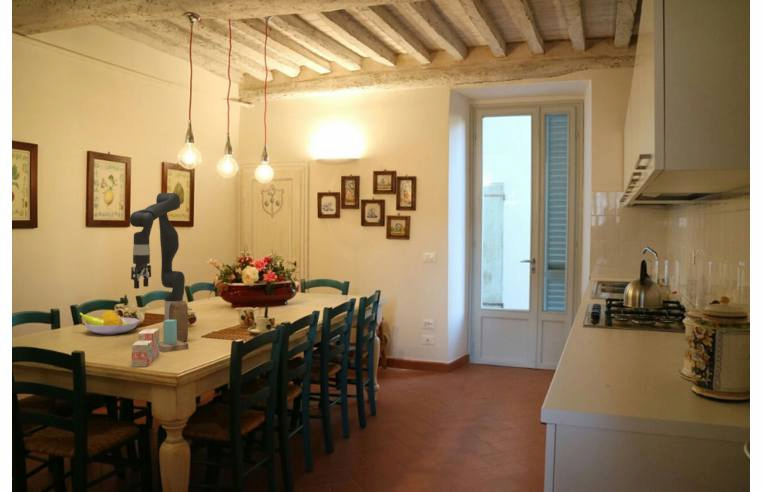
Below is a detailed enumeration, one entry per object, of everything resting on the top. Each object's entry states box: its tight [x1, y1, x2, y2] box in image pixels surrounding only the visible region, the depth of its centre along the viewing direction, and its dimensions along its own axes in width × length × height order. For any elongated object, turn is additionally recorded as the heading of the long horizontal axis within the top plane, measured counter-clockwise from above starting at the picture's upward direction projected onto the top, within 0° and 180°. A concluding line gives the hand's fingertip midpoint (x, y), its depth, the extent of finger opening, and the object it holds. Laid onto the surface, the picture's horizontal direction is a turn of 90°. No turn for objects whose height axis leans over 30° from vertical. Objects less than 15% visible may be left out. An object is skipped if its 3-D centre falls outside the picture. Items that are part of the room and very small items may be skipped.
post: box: [162, 319, 177, 345], centre depth 269 cm, size 4×4×11 cm
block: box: [169, 300, 189, 343], centre depth 286 cm, size 11×8×20 cm
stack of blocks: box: [131, 328, 160, 368], centre depth 246 cm, size 21×6×12 cm, turn 9°
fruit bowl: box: [78, 310, 140, 336], centre depth 305 cm, size 28×27×11 cm
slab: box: [159, 340, 189, 353], centre depth 270 cm, size 12×12×3 cm
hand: (141, 287), depth 274 cm, fingers open, 8 cm apart
